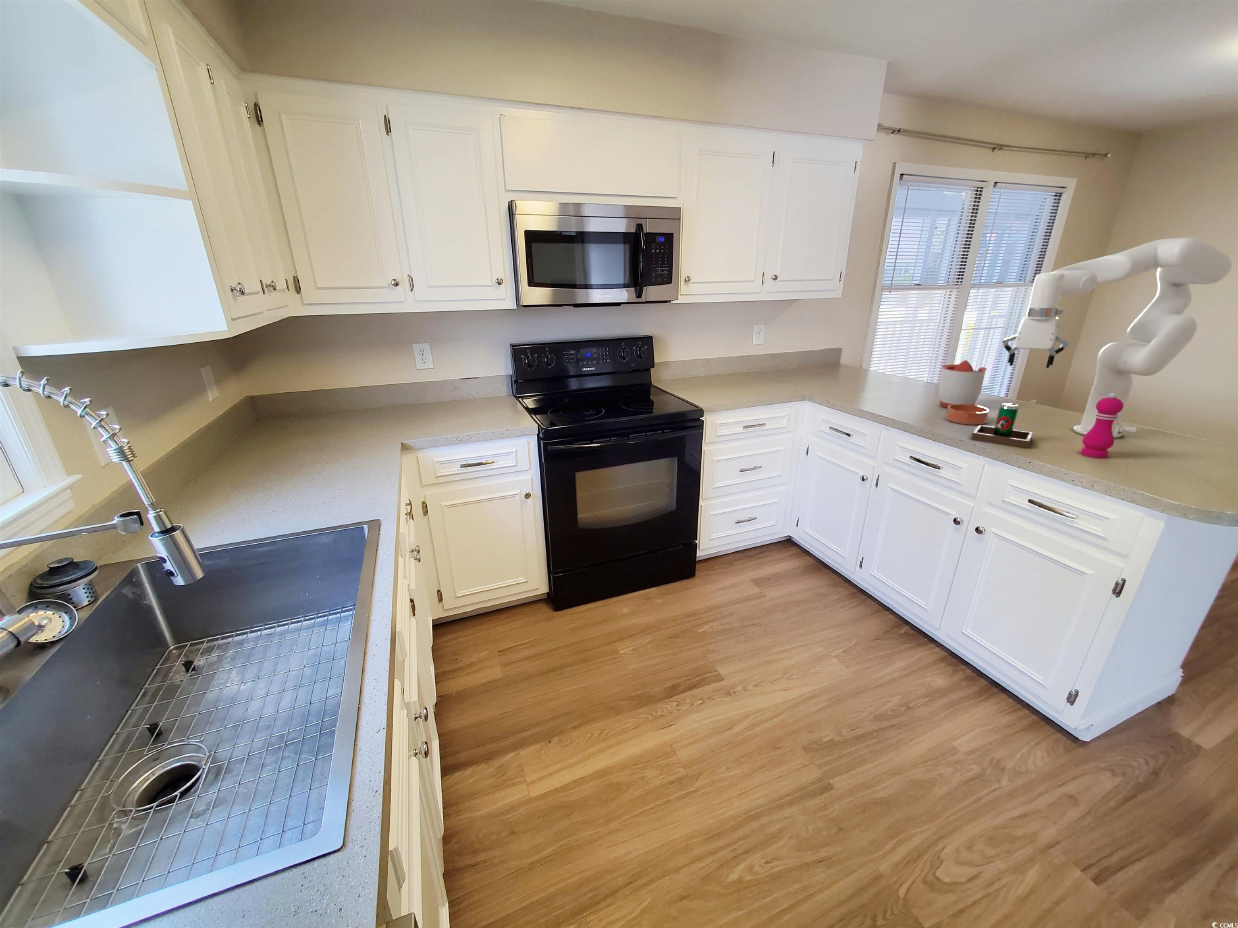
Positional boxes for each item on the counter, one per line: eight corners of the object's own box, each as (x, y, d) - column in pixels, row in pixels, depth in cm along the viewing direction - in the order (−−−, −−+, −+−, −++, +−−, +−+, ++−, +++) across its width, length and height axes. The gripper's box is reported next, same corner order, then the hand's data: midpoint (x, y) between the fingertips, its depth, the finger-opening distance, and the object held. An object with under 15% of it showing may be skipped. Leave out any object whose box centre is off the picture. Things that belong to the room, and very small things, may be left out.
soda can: (1013, 440, 169) (1022, 406, 165) (996, 440, 170) (1005, 406, 166) (1006, 435, 174) (1014, 402, 170) (989, 435, 175) (997, 402, 171)
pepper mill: (1077, 449, 161) (1096, 389, 154) (1108, 453, 157) (1129, 391, 149) (1078, 455, 156) (1098, 393, 149) (1109, 460, 151) (1131, 396, 144)
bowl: (988, 419, 194) (991, 407, 193) (982, 427, 186) (985, 414, 184) (949, 414, 203) (952, 402, 201) (942, 421, 194) (944, 409, 192)
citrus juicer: (989, 407, 210) (1000, 360, 202) (960, 413, 204) (971, 364, 197) (953, 400, 223) (963, 355, 216) (926, 405, 217) (935, 359, 210)
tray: (1031, 439, 171) (1033, 432, 170) (1026, 448, 164) (1029, 441, 163) (977, 431, 181) (979, 424, 180) (971, 439, 174) (972, 432, 173)
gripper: (1078, 312, 156) (1063, 366, 162) (1010, 312, 167) (999, 362, 173) (1076, 314, 151) (1062, 370, 157) (1006, 314, 162) (995, 366, 168)
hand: (1029, 366), depth 165 cm, fingers open, 9 cm apart
